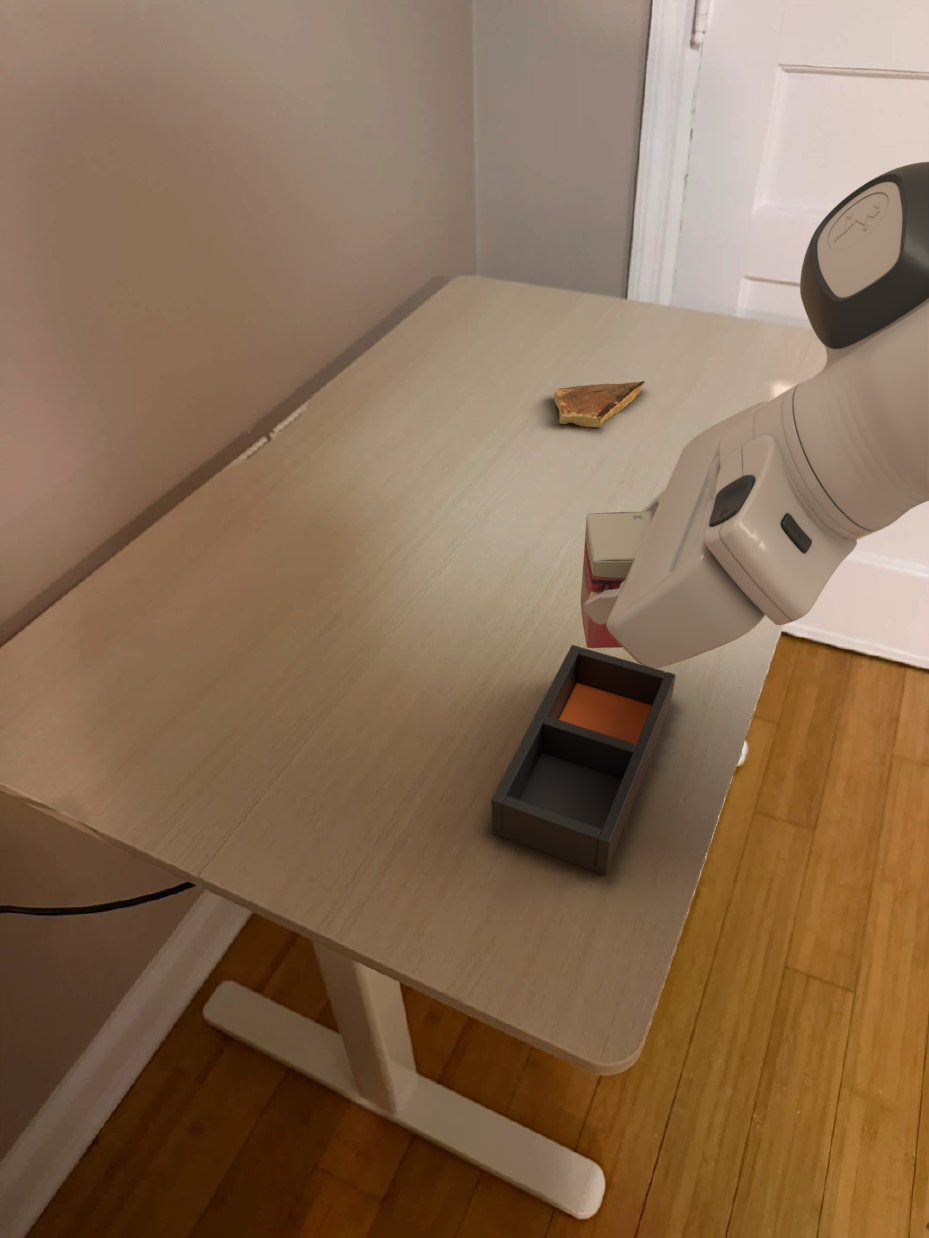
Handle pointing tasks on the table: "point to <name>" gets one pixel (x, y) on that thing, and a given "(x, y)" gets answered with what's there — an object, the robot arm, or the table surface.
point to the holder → (583, 758)
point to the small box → (609, 561)
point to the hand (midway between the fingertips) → (609, 574)
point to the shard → (593, 402)
